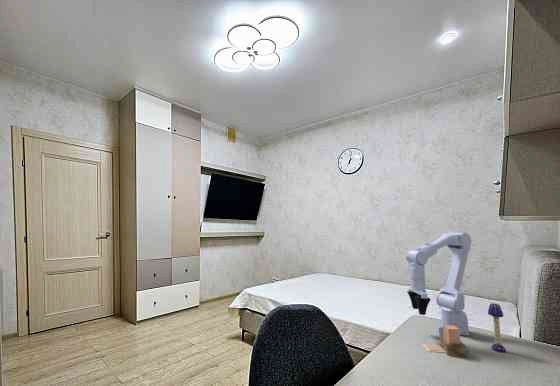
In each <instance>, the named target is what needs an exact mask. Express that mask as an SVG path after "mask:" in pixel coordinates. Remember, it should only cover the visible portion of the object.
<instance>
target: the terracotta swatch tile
mask: <svg viewBox="0 0 560 386" xmlns="http://www.w3.org/2000/svg"><path fill="white" fill-rule="evenodd" d="M422 346H423V347H424V348H425V349H426V350H427V351H428V352H433V353H445V354H446V352H445V351H444V350H443V349H442V346H440V345H439V344H432V343H422Z"/></svg>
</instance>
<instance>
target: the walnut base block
mask: <svg viewBox="0 0 560 386" xmlns="http://www.w3.org/2000/svg"><path fill="white" fill-rule="evenodd" d="M440 343H441V344H440V345H441V348H442V349H443V350H444V351H445V352H446V353H445V354H446V355H447V356H451V357H462V358H467V346H466V345H465V344H464V343H463V342H462V341H461V344H453V343H448V342H447V341H446V340H444V339H443V337H441V341H440Z"/></svg>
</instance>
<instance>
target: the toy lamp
mask: <svg viewBox="0 0 560 386" xmlns="http://www.w3.org/2000/svg"><path fill="white" fill-rule="evenodd" d="M487 310H488V311H487V314H488V315H489V316H491V317H493V326H494V329H493V330H494V343H493V344H491V349H492V350H494V351H495V352H499V353H506V352H507V349H506V347H504V345H502V342H501V341H502V339H501V329H500V327H501V326H500V325H501V324H500V318H503V317H504V313H503V311H502V307H501V305H500V304H498V303H493V302H492V303H490V304H489V305H488V309H487Z"/></svg>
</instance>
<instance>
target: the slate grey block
mask: <svg viewBox="0 0 560 386" xmlns="http://www.w3.org/2000/svg"><path fill="white" fill-rule="evenodd" d="M441 337H443V327H438V338H439V341H440V342H441Z"/></svg>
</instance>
